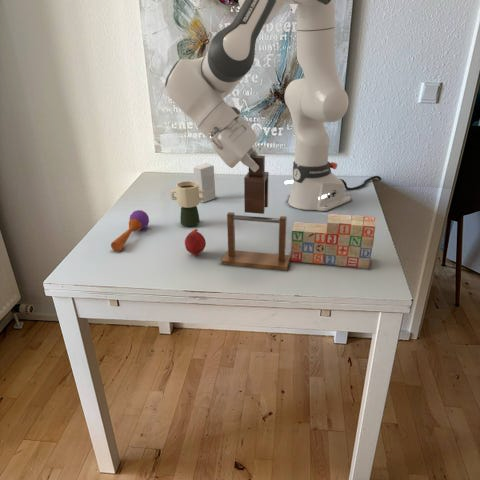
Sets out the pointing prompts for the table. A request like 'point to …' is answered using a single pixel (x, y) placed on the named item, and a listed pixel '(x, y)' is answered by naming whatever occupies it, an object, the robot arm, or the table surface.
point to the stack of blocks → (334, 241)
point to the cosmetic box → (205, 180)
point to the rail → (256, 258)
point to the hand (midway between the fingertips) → (259, 167)
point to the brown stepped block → (256, 187)
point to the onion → (195, 242)
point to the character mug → (188, 201)
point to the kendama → (131, 228)
